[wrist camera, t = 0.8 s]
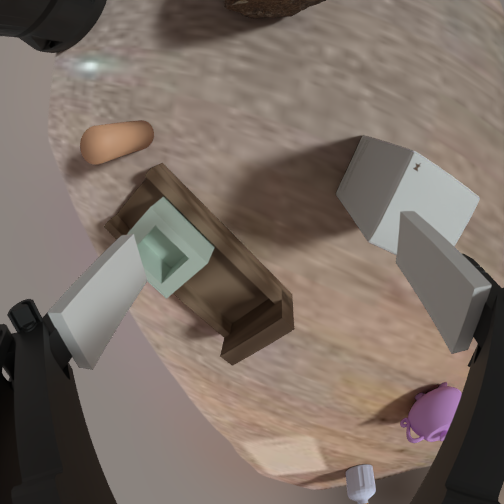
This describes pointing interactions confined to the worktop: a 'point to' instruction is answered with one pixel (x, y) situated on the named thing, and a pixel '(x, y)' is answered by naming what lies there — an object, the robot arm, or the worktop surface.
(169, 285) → the socket block
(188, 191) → the brown long open box
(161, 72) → the worktop surface
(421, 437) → the teapot
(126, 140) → the dowel
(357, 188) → the supplement box
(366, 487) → the soap bottle
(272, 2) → the rock
